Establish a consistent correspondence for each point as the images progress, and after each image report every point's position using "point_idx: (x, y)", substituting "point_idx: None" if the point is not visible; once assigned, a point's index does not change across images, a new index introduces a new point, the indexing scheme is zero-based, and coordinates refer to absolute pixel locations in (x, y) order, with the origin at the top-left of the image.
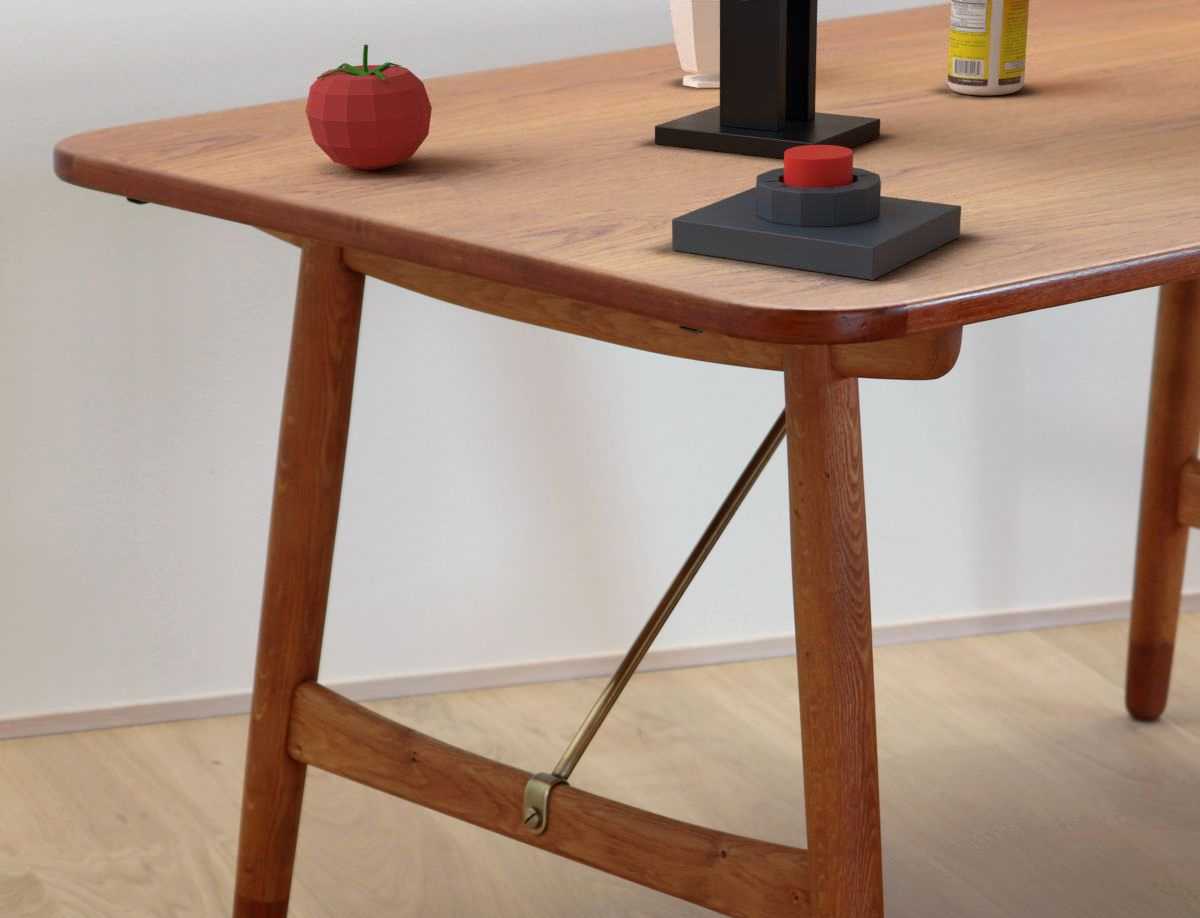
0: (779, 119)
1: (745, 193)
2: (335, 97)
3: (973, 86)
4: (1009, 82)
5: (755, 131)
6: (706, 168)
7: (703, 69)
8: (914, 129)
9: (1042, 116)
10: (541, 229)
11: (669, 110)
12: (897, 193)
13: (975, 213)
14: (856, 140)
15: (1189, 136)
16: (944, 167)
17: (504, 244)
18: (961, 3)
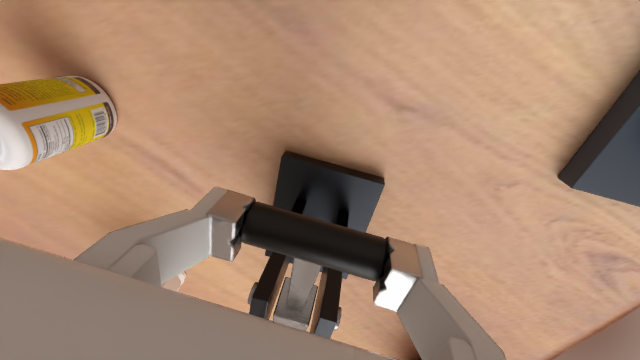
0: (346, 217)
1: (618, 195)
2: None
3: (112, 113)
4: (90, 84)
5: (350, 226)
6: (411, 235)
7: (178, 280)
8: (249, 131)
9: (157, 35)
10: (595, 286)
11: (251, 277)
12: (489, 96)
13: (580, 6)
14: (321, 162)
15: None
16: (382, 78)
17: (636, 295)
18: (48, 149)
